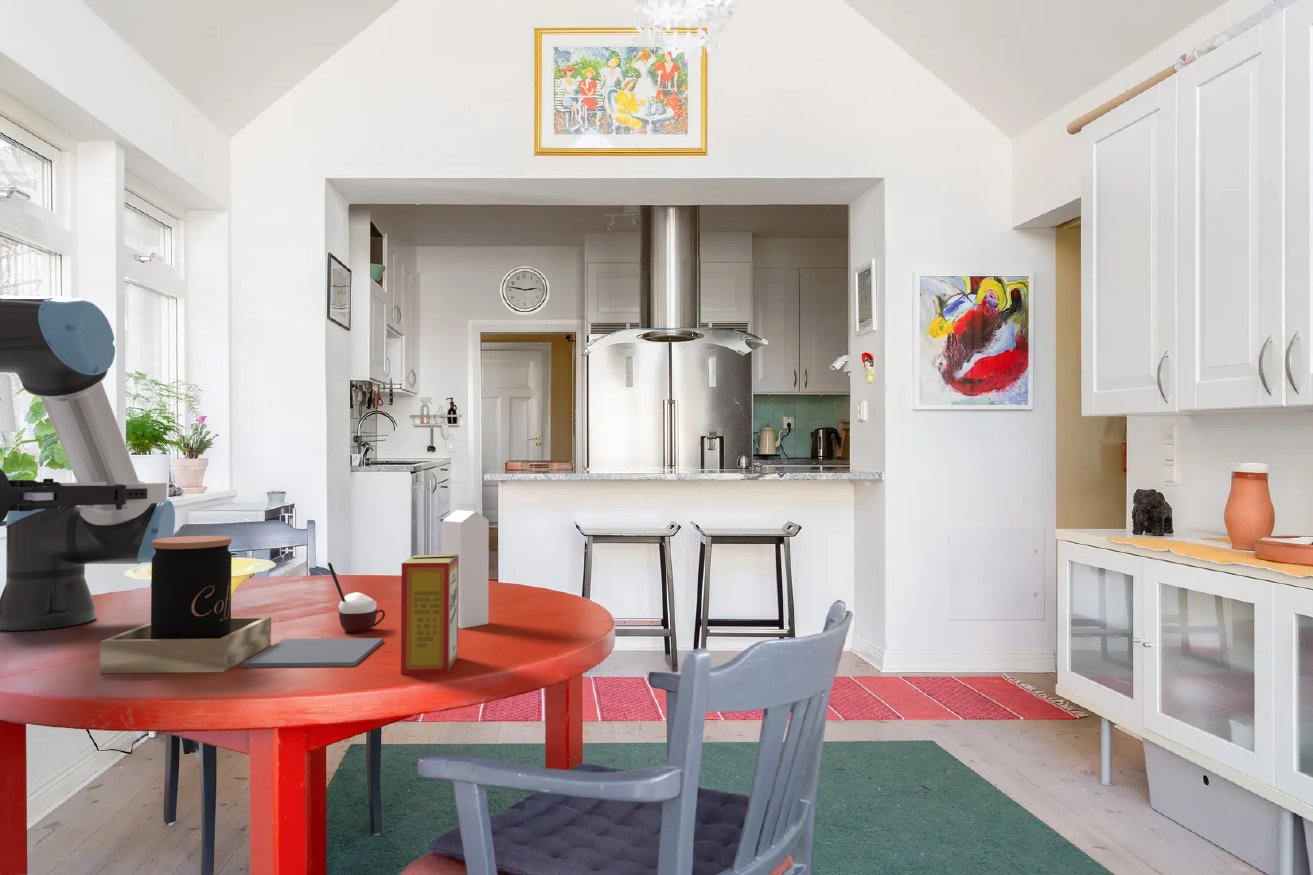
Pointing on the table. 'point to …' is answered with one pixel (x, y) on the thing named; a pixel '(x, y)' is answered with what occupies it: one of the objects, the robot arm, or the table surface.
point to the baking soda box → (429, 614)
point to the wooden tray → (184, 649)
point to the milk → (469, 561)
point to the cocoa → (356, 610)
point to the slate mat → (314, 652)
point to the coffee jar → (191, 588)
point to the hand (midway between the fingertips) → (134, 492)
